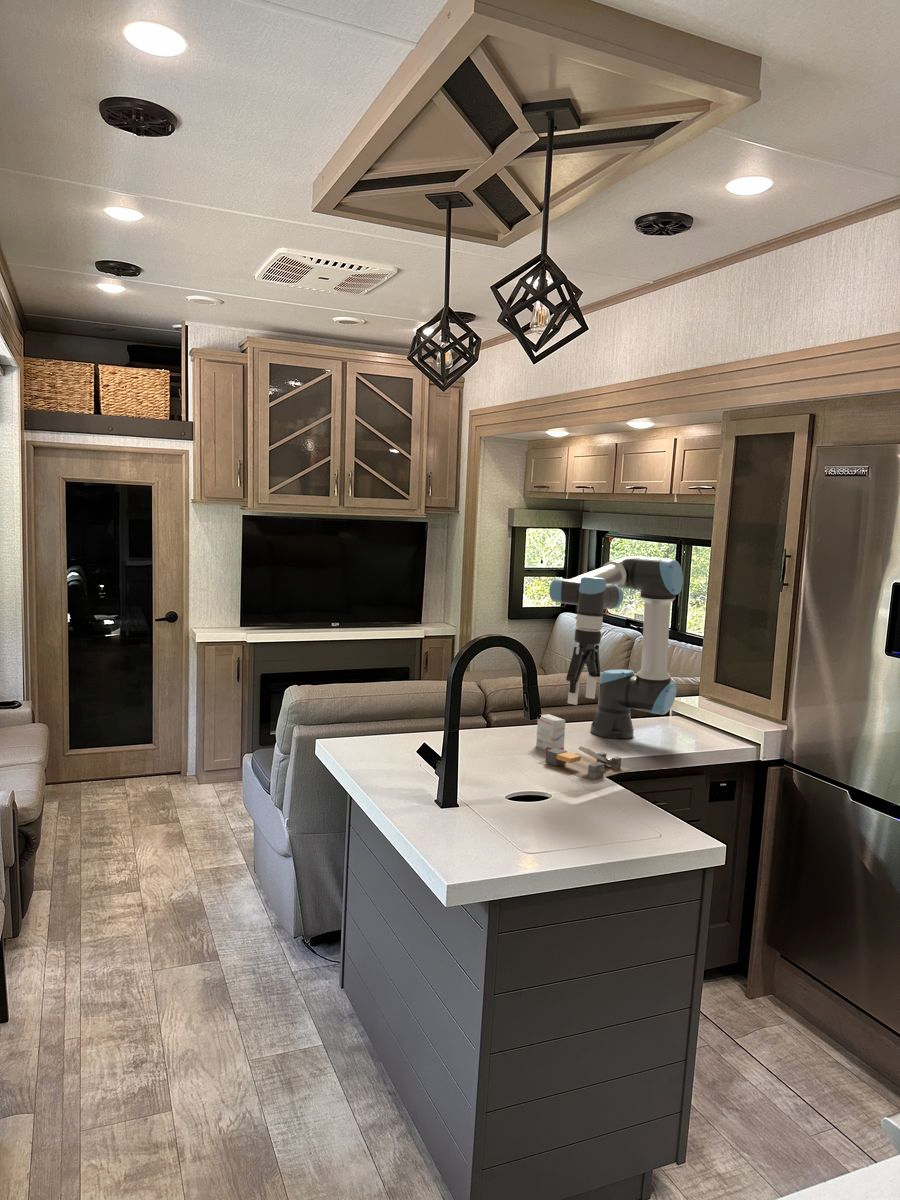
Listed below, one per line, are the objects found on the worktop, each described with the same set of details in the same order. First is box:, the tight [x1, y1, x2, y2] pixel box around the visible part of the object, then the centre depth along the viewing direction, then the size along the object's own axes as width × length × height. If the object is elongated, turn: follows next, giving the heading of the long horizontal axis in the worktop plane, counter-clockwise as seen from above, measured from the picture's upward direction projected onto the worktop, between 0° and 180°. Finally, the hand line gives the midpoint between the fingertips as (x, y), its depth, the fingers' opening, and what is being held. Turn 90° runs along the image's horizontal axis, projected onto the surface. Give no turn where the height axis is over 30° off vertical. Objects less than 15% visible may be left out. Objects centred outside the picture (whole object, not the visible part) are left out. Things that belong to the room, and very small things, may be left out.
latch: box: [545, 748, 581, 766], centre depth 248 cm, size 5×9×4 cm, turn 45°
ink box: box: [535, 713, 566, 751], centre depth 266 cm, size 9×5×12 cm, turn 33°
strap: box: [578, 746, 612, 766], centre depth 247 cm, size 16×3×2 cm, turn 135°
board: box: [537, 751, 631, 782], centre depth 250 cm, size 20×20×5 cm
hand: (581, 701), depth 245 cm, fingers open, 13 cm apart
